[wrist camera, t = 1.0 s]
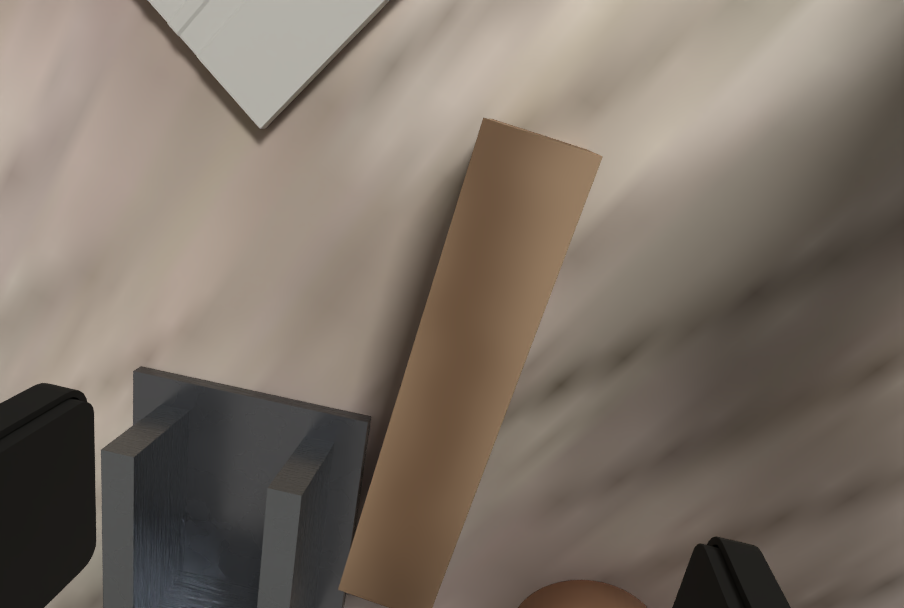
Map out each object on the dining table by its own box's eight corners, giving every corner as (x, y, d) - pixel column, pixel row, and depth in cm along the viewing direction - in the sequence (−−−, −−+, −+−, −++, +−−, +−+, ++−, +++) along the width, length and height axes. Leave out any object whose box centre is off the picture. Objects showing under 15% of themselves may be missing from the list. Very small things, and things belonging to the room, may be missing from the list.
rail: (586, 149, 25) (602, 156, 19) (446, 529, 31) (427, 621, 25) (494, 119, 25) (483, 117, 19) (373, 504, 31) (338, 589, 25)
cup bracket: (371, 416, 29) (339, 473, 24) (339, 635, 33) (308, 720, 29) (141, 366, 30) (67, 411, 25) (138, 586, 34) (75, 660, 30)
